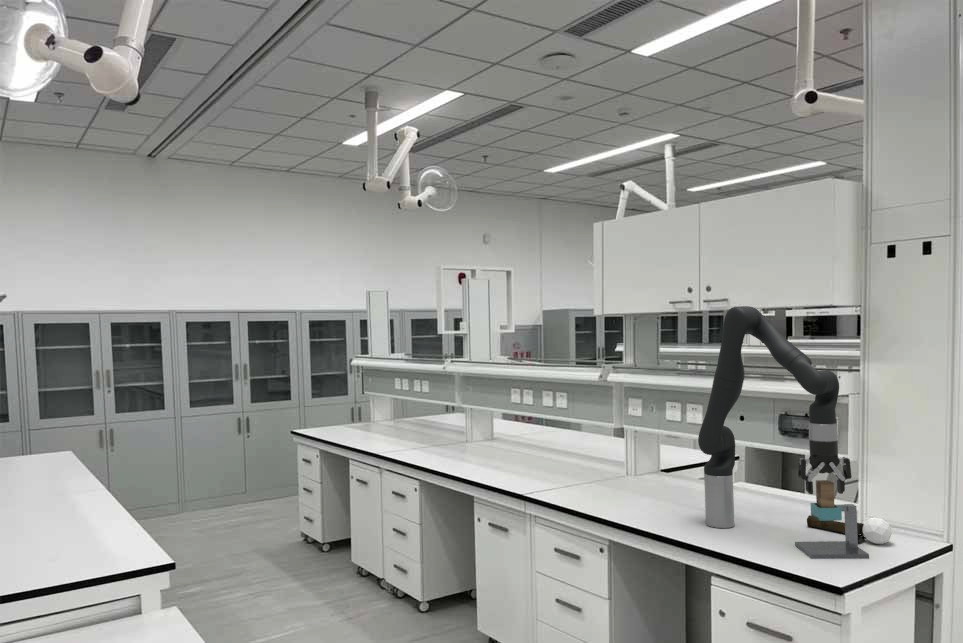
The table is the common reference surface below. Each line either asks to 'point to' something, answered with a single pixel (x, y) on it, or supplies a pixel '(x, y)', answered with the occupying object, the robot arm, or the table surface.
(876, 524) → the ball
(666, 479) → the table surface
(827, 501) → the brown wooden block
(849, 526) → the cup bracket
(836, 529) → the hand tool
